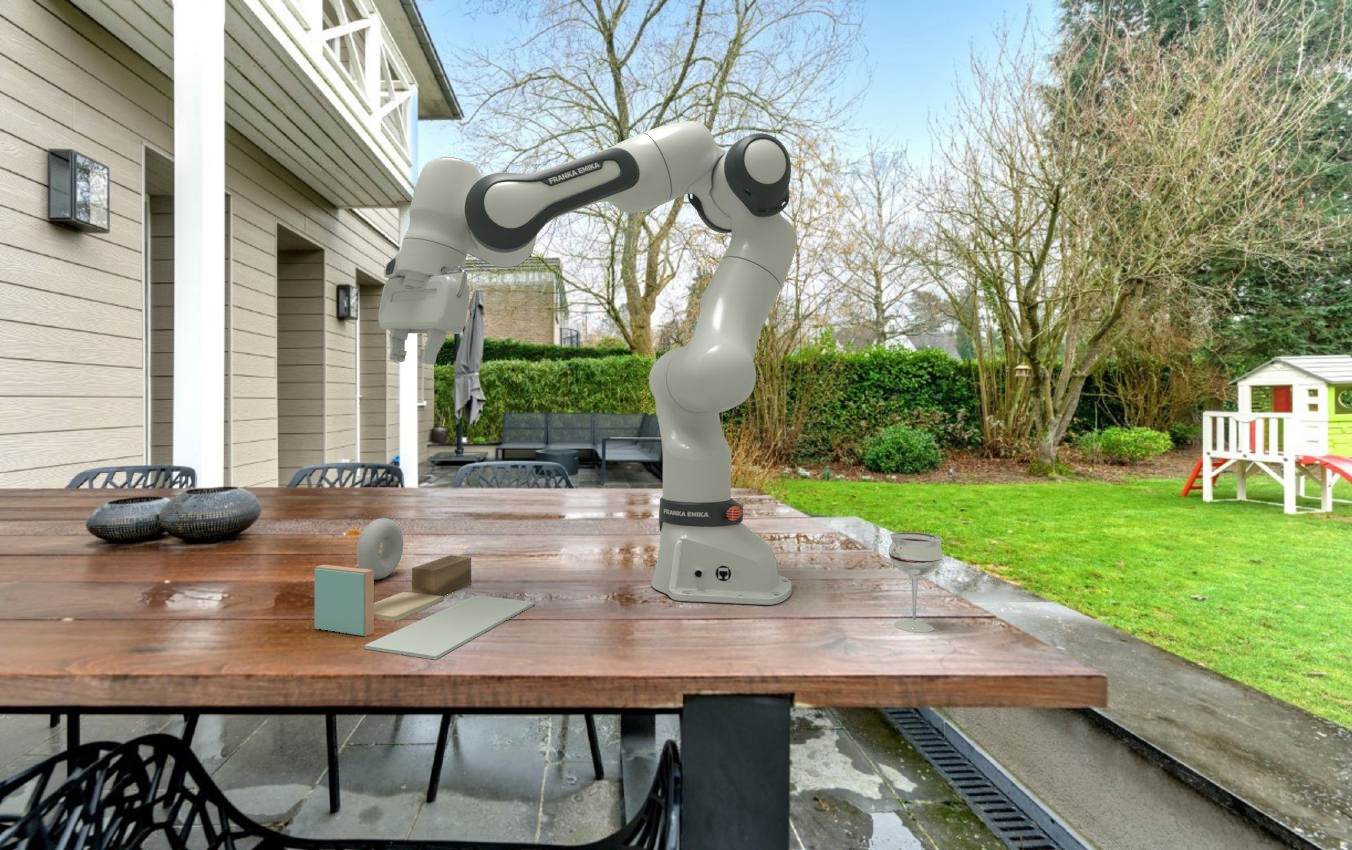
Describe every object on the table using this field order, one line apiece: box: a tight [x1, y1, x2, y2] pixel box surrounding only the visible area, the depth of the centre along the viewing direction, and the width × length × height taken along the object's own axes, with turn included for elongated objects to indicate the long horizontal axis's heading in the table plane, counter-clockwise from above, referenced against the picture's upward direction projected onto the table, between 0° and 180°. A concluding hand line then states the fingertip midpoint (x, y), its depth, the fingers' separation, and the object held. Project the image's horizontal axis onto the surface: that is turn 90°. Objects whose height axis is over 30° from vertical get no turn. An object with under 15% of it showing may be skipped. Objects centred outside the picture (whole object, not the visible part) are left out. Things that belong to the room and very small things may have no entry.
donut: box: [355, 517, 404, 580], centre depth 108 cm, size 10×4×10 cm, turn 170°
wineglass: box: [888, 531, 944, 633], centre depth 88 cm, size 7×7×12 cm
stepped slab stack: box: [374, 554, 472, 623], centre depth 97 cm, size 7×19×4 cm, turn 162°
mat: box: [363, 595, 536, 661], centre depth 86 cm, size 10×22×1 cm, turn 162°
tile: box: [314, 564, 375, 637], centre depth 83 cm, size 8×2×8 cm, turn 72°
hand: (410, 362), depth 94 cm, fingers open, 8 cm apart
